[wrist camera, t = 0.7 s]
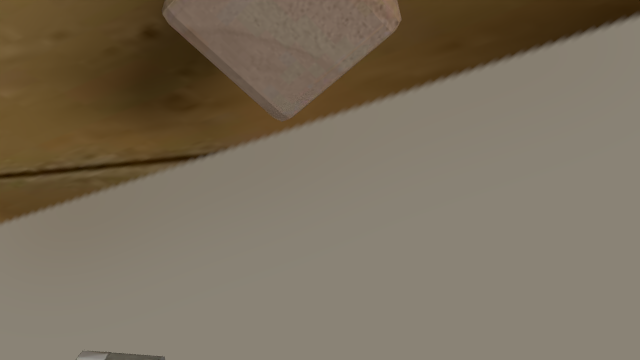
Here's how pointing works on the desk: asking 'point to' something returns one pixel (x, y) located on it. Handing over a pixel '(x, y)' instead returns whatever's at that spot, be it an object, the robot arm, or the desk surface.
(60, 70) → the desk surface
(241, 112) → the desk surface
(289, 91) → the wooden block
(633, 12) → the desk surface
